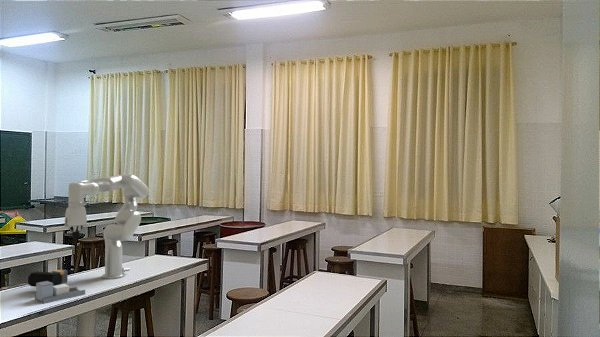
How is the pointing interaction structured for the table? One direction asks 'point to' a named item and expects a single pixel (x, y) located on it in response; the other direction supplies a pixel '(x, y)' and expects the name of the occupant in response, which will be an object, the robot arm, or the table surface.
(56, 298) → the gray flat slab
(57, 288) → the block
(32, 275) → the security camera
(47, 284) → the mounted module
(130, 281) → the table surface
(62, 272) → the relay block
